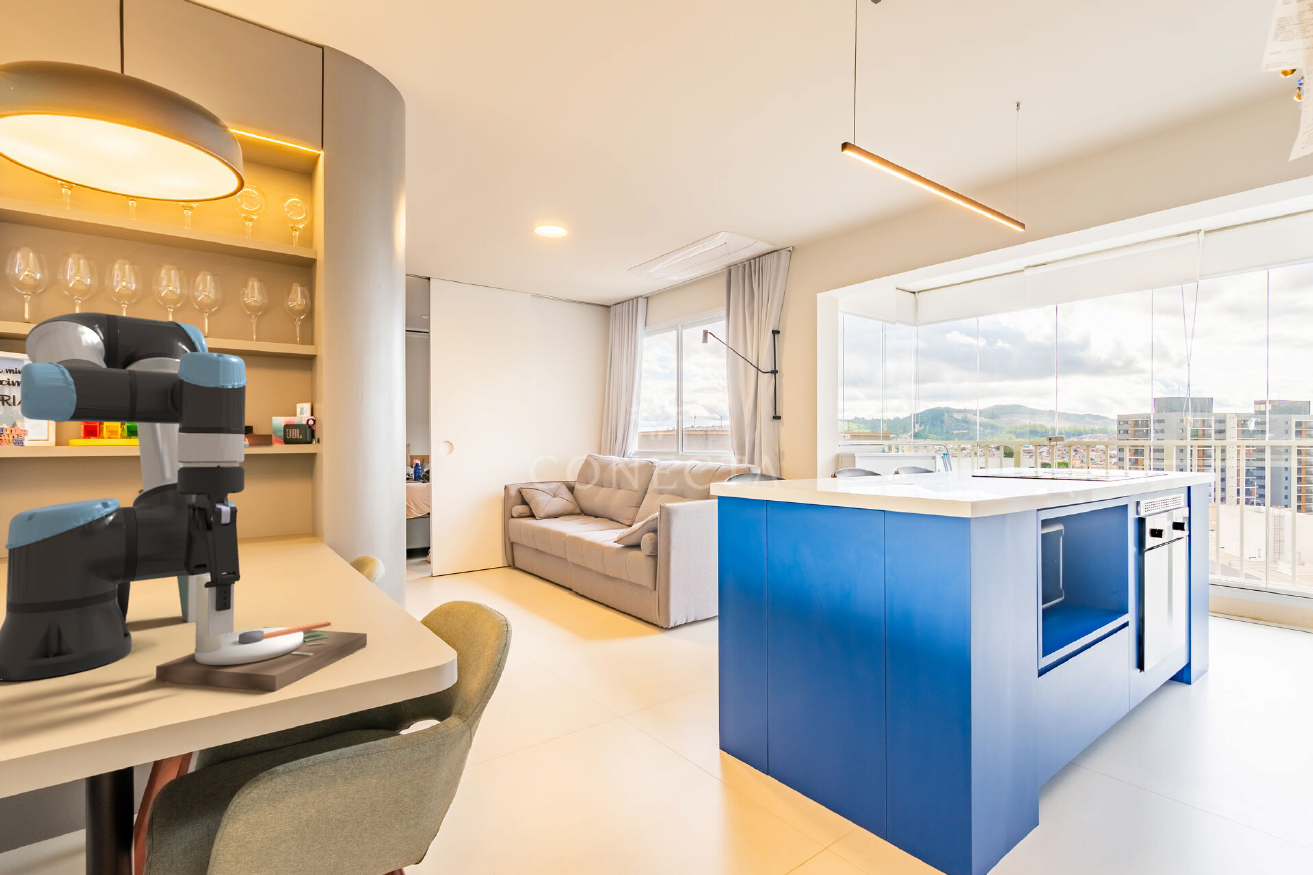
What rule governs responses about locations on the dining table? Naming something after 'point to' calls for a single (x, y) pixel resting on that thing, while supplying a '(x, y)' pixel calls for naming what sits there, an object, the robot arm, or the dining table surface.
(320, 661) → the board
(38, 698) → the dining table surface
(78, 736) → the dining table surface
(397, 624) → the dining table surface
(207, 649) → the white stand with post
